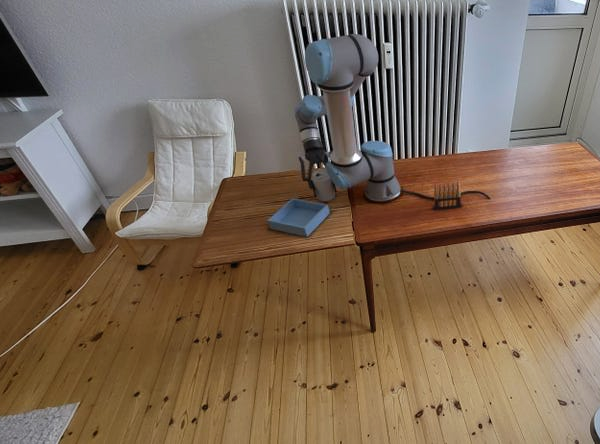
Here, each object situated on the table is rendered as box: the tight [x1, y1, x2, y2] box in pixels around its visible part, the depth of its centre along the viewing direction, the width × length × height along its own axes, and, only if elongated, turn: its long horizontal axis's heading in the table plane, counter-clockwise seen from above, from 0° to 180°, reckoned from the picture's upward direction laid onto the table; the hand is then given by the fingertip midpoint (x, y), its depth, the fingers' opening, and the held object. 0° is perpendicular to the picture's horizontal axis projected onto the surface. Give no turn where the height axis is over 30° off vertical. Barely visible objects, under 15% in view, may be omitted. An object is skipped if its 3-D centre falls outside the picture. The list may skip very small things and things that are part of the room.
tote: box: [267, 197, 331, 238], centre depth 146 cm, size 17×16×4 cm
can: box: [311, 169, 336, 203], centre depth 156 cm, size 8×8×12 cm
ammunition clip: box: [433, 181, 462, 211], centre depth 148 cm, size 11×2×12 cm, turn 98°
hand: (325, 193), depth 154 cm, fingers closed on can, 7 cm apart
